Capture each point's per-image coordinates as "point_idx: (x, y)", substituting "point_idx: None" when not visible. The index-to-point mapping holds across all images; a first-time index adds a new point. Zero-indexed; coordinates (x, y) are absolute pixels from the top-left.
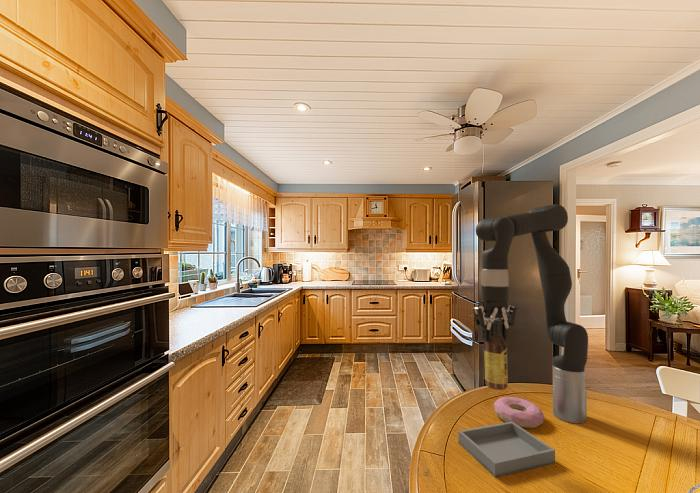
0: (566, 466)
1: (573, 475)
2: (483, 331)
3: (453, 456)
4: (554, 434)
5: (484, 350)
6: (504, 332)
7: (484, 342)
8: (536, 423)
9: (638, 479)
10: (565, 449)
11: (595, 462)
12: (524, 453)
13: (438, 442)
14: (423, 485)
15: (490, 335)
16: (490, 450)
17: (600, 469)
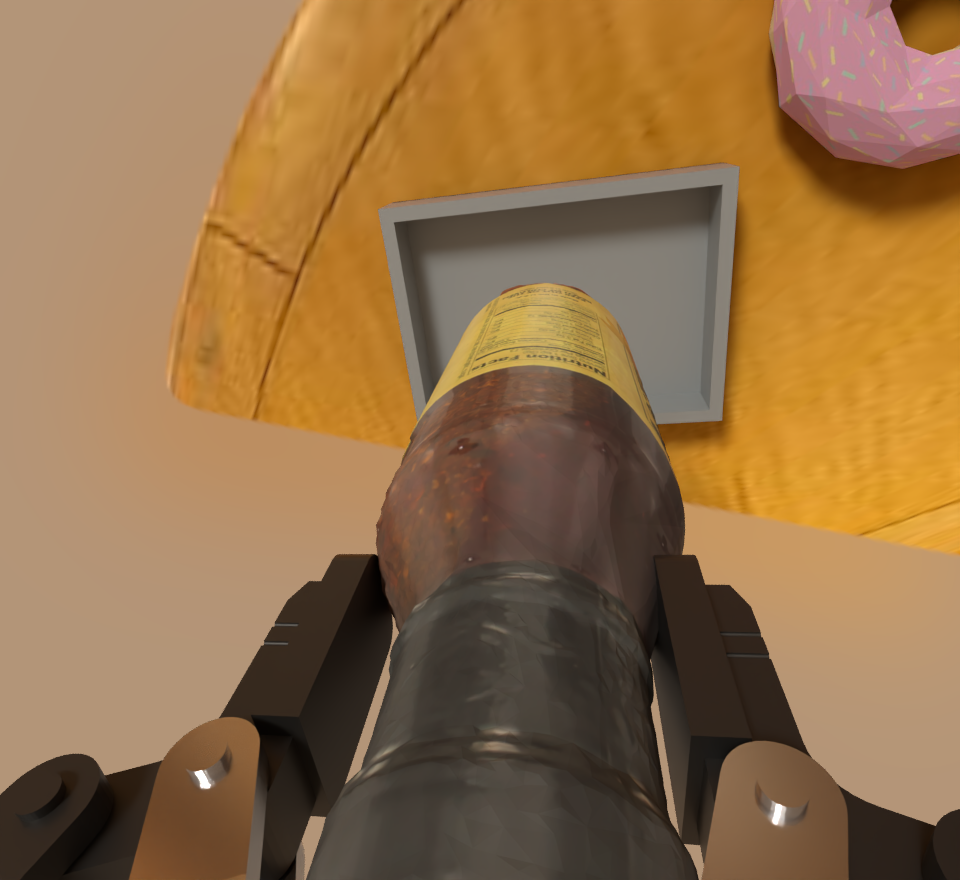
0: (735, 419)
1: (711, 459)
2: (240, 711)
3: (332, 289)
4: (941, 218)
5: (411, 437)
6: (668, 765)
7: (391, 484)
8: (903, 167)
9: (918, 515)
10: (852, 334)
11: (878, 424)
12: (627, 342)
13: (300, 183)
14: (188, 400)
15: (359, 722)
16: (496, 297)
17: (847, 455)
